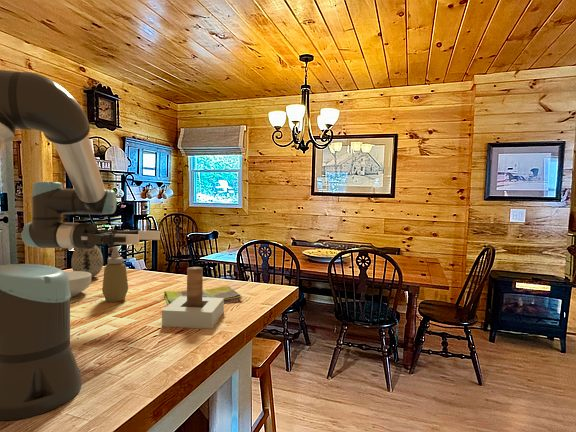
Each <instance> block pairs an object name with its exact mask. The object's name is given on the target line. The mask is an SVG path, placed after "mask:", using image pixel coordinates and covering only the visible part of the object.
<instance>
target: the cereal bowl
mask: <svg viewBox="0 0 576 432" xmlns="http://www.w3.org/2000/svg"><path fill="white" fill-rule="evenodd" d="M64 272H65V273H66V274H67V275H68V278H69V291H70V293H71V298H73V297H75V296H77V295H78V294H80V293H82V292H84V291H85V290H87V289H88V288H89V286H90V285H91V283H92V278H93V277H92V276H91V273H89V272H83V271H73V270H72V271H68V270H67V271H64ZM91 277H92V278H91Z"/></svg>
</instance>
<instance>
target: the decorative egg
mask: <svg viewBox="0 0 576 432" xmlns="http://www.w3.org/2000/svg"><path fill="white" fill-rule="evenodd" d="M70 262H71V265H70V266H71V269H72V271H83V272H89V273H91V276H92V277H91V279H92V278H94V277H97V275H99V274H100V272H101V270H102V269H103V266H104V257H103V253H102V251H101V249H100V248H99V247H98V246H97V244H96V245H95V246H94V247H93V248H91V249H79V248H74V251H73V253H72V255H71V260H70Z"/></svg>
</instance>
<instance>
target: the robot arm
mask: <svg viewBox="0 0 576 432" xmlns="http://www.w3.org/2000/svg"><path fill="white" fill-rule="evenodd" d="M16 130H29V131H31V130H35V131H39V132H42V133H43V136H44V137H45V138H46V140H48V141H49V142H51V143H52V144H53V146H54V148H55V149H56V152H57V154H58V156H59V158H60V161H61V162H62V166H63V167H64V169H65V171H66V174H67V176H68V178H69V180H70V182H71V185H72V187H73V188H64V186H63V183H62V182H59V181H44V180H43V181H35V182H33V184H32V192H31V217H32V219H31V221H30V222H27V223H25V225H24V226H23V228H22V231H21V233H20V235H21V240H22V242H23V243H24V245H26V246H27V247H33V248H39V249H67V251H71V250H72V249H76V248H79V249H91V248H93V247H94V246H95V245H96V246H97V245H104V246H106V245H108V247H109V248H113V247H115V246H114V245H129V246H130V245H134V246H135V245H137V246H138V245H140V240H142V241H144V240H145V241H147V240H148V241H149V240H150V241H160V240H161V230H141V228H140V227H139V228H137V229H135V230H133V229H132V230H116V229H106V228H104V229H103V228H101V229H98V227H97V226H96V225H95V224H94V223H93V222H80V223H79V222H63V218H64V216H63V215H99V216H102V215H113V214H115V212H116V210H117V194H116V192H115V191H114V190H113V189H107V188H105V185H104V181H103V178H102V176H101V172H100V169H99V166H98V164H97V163H98V162H97V159H96V156H95V153H94V151H93V148H92V145H91V141H90V139H89V134H90V131H91V125H90V122H89V119H88V116H87V114H86V113H85V111H84V109H83V108H82V107H81V105H80V104H79V102H78V101H77V99H76V98H74V96H72V95H71V94H70V92H69V91H67V90H66V89H65V87H62V86H61V85H60V84H58V83H57V82H56V81H54V80H52V79H50V78H49V77H46V76H44V75H42V74H38V73H36V72H35V73H34V72H29V71H18V70H17V71H15V70H4V69H0V159H1V157H2V153H3V146H6V145H8V144H10V143H12V142H13V141H14V138H15V134H16ZM65 272H66V271H64V270H63V269H61V268H58V267H55V266H51V265H46V264H45V265H44V264H39V263H38V264H34V263H19V264H14V263H10V264H9V263H8V264H2V265H1V264H0V421H13V420H20V419H21V420H22V419H26V418H30V417H34V416H38V415H41V414H45V413H46V412H49V411H52V410H55V409H56V408H57V409H58V407H61V406H62V405H64V404H66V403H68V402H70V401H71V400H72V399H73V398H75V396H76V395H77V394H79V392H80V390H81V389H82V373H81V369H80V368H79V366H78V362H77V361H76V358H75V354H74V352H73V350H72V348H71V298H72V297H71V293H70V291H69V278H68V275H67V274H66V273H65Z"/></svg>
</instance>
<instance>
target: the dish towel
mask: <svg viewBox="0 0 576 432" xmlns="http://www.w3.org/2000/svg"><path fill="white" fill-rule="evenodd" d="M163 295H164V299H165V303H166V305H167V306H168V305H169V304H171V303H172V302H173V301H174V300H176V299H177V298H178V297H179V296H185V297H187V290H180V291H179V290H178V291H175V290H172V291H171V290H164V292H163ZM202 297H210V298H224V305H225V304H226V305H227V304H233V303H239V300H242V298H243V295H241V294H239V293H238V292H237V291H236V290H234V289H233V288H232V287H230V286H228V285H225V286H219V287H215V288H214V287H213V288H209V289H208V288H206V289H202Z"/></svg>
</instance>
